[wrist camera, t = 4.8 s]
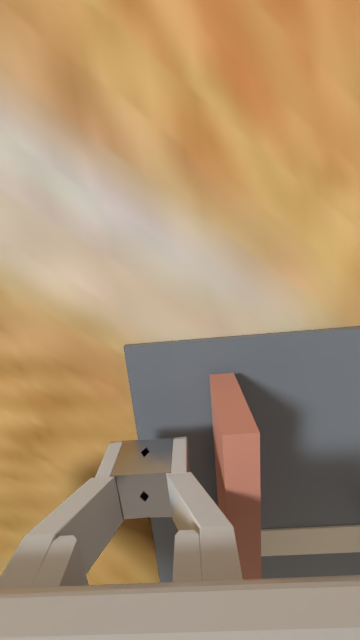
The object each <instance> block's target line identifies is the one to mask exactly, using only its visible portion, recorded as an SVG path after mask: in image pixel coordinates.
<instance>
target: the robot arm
mask: <svg viewBox="0 0 360 640" xmlns="http://www.w3.org/2000/svg"><path fill="white" fill-rule="evenodd" d="M147 517H172V519H173V521H174V523H175V525H176V527H177V529H178V532H177V534H176V535H175V542H174V561H173V580H172V582H164V583H138V584H110V585H88V581H87V577H86V574H87V572H88V571H89V570H90V568H91V567H92V565H93V564H94V562H95V561H96V560H97V558H98V557H99V555H100V554H101V552H102V551H103V550H104V548H105V547H106V545H107V544H108V542H109V541H110V540H111V538H112V537H113V535H114V534H115V533H116V531H117V530H118V528H119V527H120V525H121V524H122V523H123V519H135V518H147ZM0 640H360V575H348V576H321V577H294V578H267V579H243V578H242V572H241V567H240V561H239V556H238V550H237V545H236V539H235V533H234V528H233V526H232V524H231V523H230V522H229V520H228V519H227V518H226V517H225V515H224V514H223V513H222V511H221V510H220V509H219V507H218V506H217V505H216V504H215V502H214V501H213V500H212V498H211V497H210V496H209V494H208V493H207V492H206V491H205V489H204V488H203V487H202V485H201V484H200V483H199V482H198V480H197V479H196V478H195V476H194V475H193V474H192V472H190V460H189V450H188V440H187V437H175V438H166V439H152V440H128V441H112V442H110V443H109V445H108V447H107V450H106V452H105V454H104V457H103V459H102V462H101V464H100V466H99V469H98V471H97V474H96V476H95V478H90V479H89V480H88V481H87V482H85V483H84V484H83V485H82V486H81V487H80V488H79V489H77V490H76V491H75V492H74V493H73V494H72V495H71V496H69V497H68V498H67V499H66V500H65V501H64V502H63V503H61V504H60V505H59V506H58V507H57V508H56V509H55V510H54V511H52V512H51V513H50V514H49V515H48V516H47V517H46V518H44V519H43V520H42V521H41V522H40V523H39V524H38V525H36V526H35V527H34V528H33V529H32V530H31V531H30V532H28V533H27V534H26V535H25V536H24V538H23V539H22V541H21V543H20V544H19V546H18V548H17V550H16V551H15V553H14V555H13V556H12V558H11V560H10V561H9V563H8V565H7V567H6V568H5V570H4V572H3V573H2V575H1V577H0Z"/></svg>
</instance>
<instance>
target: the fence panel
mask: <svg viewBox="0 0 360 640" xmlns="http://www.w3.org/2000/svg"><path fill="white" fill-rule="evenodd" d="M209 378H210V393H211V408H212V423H213V438H214V453H215V469H216V484H217V499H218V507H219V509H220V510H221V511H222V513H223V514H224V515H225V517H226V518H227V519H228V520H229V522H230V523H231V524H232V526H233V528H234V533H235V539H236V545H237V550H238V556H239V561H240V567H241V572H242V578H243V579H261V490H260V432H259V430H258V427H257V425H256V423H255V420H254V418H253V416H252V414H251V411H250V409H249V407H248V404H247V402H246V400H245V397H244V395H243V393H242V391H241V388H240V386H239V384H238V381H237V379H236V377H235V375H234V373H224V374H210V375H209Z"/></svg>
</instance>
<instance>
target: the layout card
mask: <svg viewBox="0 0 360 640" xmlns="http://www.w3.org/2000/svg"><path fill="white" fill-rule="evenodd" d="M124 352H125V359H126V365H127V371H128V378H129V384H130V391H131V397H132V403H133V410H134V416H135V423H136V429H137V435H138V440H152V439H166V438H175V437H187V440H188V450H189V460H190V472H192V474H193V475H194V476H195V478H196V479H197V480H198V482H199V483H200V484H201V485H202V487H203V488H204V489H205V491H206V492H207V493H208V494H209V496H210V497H211V498H212V500H213V501H214V502H215V504H216V505H217V506H218V499H217V484H216V469H215V453H214V438H213V423H212V408H211V393H210V378H209V375H210V374H224V373H234V375H235V377H236V379H237V381H238V384H239V386H240V388H241V391H242V393H243V395H244V397H245V400H246V402H247V404H248V407H249V409H250V411H251V414H252V416H253V418H254V420H255V423H256V425H257V427H258V430H259V432H260V490H261V579H267V578H294V577H321V576H348V575H360V326H355V327H343V328H330V329H318V330H305V331H292V332H280V333H267V334H255V335H242V336H230V337H217V338H204V339H192V340H179V341H167V342H154V343H142V344H129V345H125V346H124ZM150 519H151V525H152V531H153V538H154V544H155V551H156V557H157V563H158V570H159V576H160V583H164V582H172V580H173V561H174V542H175V535H176V534H177V532H178V529H177V527H176V525H175V523H174V521H173V519H172V517H150Z"/></svg>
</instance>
